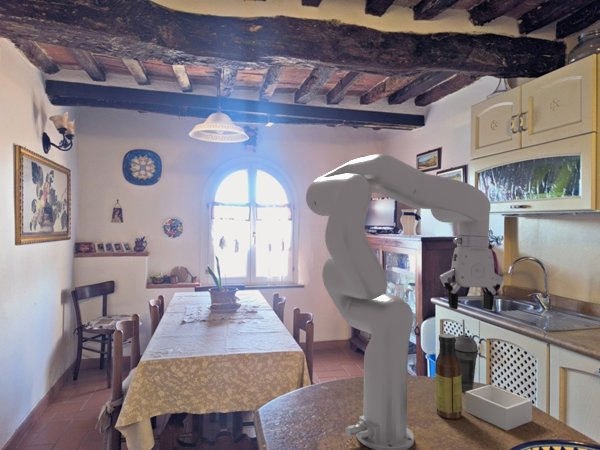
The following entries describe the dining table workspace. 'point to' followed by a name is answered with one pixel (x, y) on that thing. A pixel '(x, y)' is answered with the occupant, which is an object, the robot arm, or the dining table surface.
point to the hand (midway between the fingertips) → (470, 308)
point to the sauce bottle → (448, 379)
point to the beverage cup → (466, 359)
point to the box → (498, 406)
